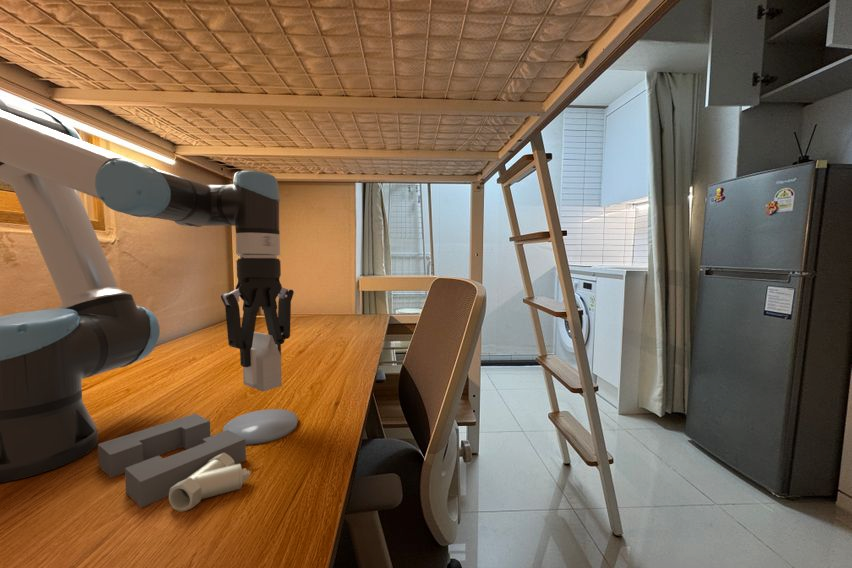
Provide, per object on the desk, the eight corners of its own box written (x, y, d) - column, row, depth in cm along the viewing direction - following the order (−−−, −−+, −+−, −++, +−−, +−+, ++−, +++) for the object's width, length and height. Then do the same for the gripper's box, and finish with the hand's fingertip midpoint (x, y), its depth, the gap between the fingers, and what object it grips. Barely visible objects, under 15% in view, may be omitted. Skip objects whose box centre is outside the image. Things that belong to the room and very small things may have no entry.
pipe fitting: (254, 483, 54) (213, 474, 55) (255, 457, 53) (215, 450, 54) (214, 521, 46) (168, 510, 47) (216, 491, 46) (169, 481, 47)
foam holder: (98, 465, 57) (97, 444, 56) (195, 431, 68) (195, 413, 68) (141, 507, 47) (140, 481, 47) (245, 459, 59) (245, 438, 59)
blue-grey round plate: (209, 431, 68) (209, 426, 68) (272, 408, 79) (272, 404, 79) (247, 452, 61) (247, 446, 61) (311, 424, 72) (311, 419, 72)
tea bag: (263, 391, 66) (262, 337, 66) (243, 384, 70) (242, 333, 69) (281, 385, 69) (280, 334, 69) (261, 379, 73) (260, 330, 72)
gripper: (223, 256, 59) (228, 397, 60) (308, 257, 73) (310, 372, 74) (201, 256, 63) (206, 388, 65) (285, 257, 77) (288, 366, 79)
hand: (262, 379), depth 70 cm, fingers closed on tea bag, 4 cm apart
